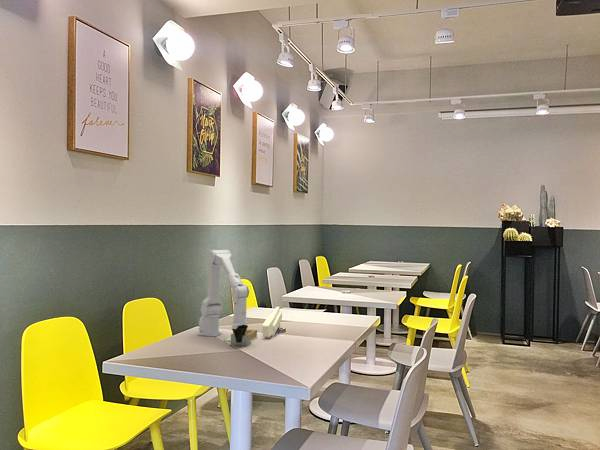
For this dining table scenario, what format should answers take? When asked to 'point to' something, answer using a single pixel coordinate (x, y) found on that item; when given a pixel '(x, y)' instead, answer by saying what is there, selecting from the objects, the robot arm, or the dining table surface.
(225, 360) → the dining table surface
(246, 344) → the angle bracket
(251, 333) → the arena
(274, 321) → the shelf bracket
